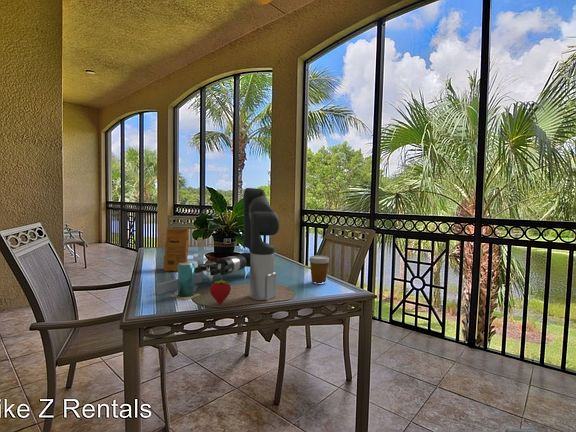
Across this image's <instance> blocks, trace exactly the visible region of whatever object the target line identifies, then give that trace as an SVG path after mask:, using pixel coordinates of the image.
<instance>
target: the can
mask: <svg viewBox="0 0 576 432" xmlns="http://www.w3.org/2000/svg"><path fill="white" fill-rule="evenodd" d="M194 275H195V263H194V262H191V261H188V262H182V263H179V264H178V272H177V279H178V289H177V294H178V296H179V297H191V296H193V295H194V293H195V284H194Z"/></svg>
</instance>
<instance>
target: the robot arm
mask: <svg viewBox="0 0 576 432" xmlns="http://www.w3.org/2000/svg"><path fill="white" fill-rule="evenodd" d="M243 191H244V192H243V199H242V202H243V203H242V204H243V206H242V207H243V226H244V227H243V239H242V240H243V242H242V243H243V244H242V245H243V247H244V248H246V249H249V252H240V253H239V254H236V255H232V256H231V255H230V256H226V257H221V258H219V259H217V260H216V262H213V263H210V262H206V263H202V264H198V265H197V267H194V274H199V273H203V272H206V273H209V275H210V276H211V277H212V276H216V275H219V276H226V275H230V274H233V273H235V272H237V271H240V270H243V269H245V268H246V267H247V268H249V298H250V299H252V300H257V301H269V300H272V299H273V298H276V292H277V291H276V290H277V289H276V287H277V286H276V285H277V283H276V281H277V273H276V272H275V246H274V245H273V244H271V243H267V242H265V241H263V239H261V238H260V236H265V237H266V236H275V235H277V234H278V232H279V230H280V219H279V215H278V214H277V212H276V211H275V210H273V209H272V206H271V204H270V202H269V201H268V199H267V194H266V191H265V190H264V189H263V188H256V187H246V188H245V189H244V190H243Z"/></svg>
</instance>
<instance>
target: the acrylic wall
mask: <svg viewBox="0 0 576 432" xmlns="http://www.w3.org/2000/svg"><path fill="white" fill-rule="evenodd" d="M200 283H203V272H198V273H194V285H196V284H200ZM155 286H156V290H155V291H156V294H155V295H157V296H160V295H163V294H165V293H170V292H173V291H178V278H175V279H172V280H168V281H165V282H160V283H157V284H156V285H155Z"/></svg>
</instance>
